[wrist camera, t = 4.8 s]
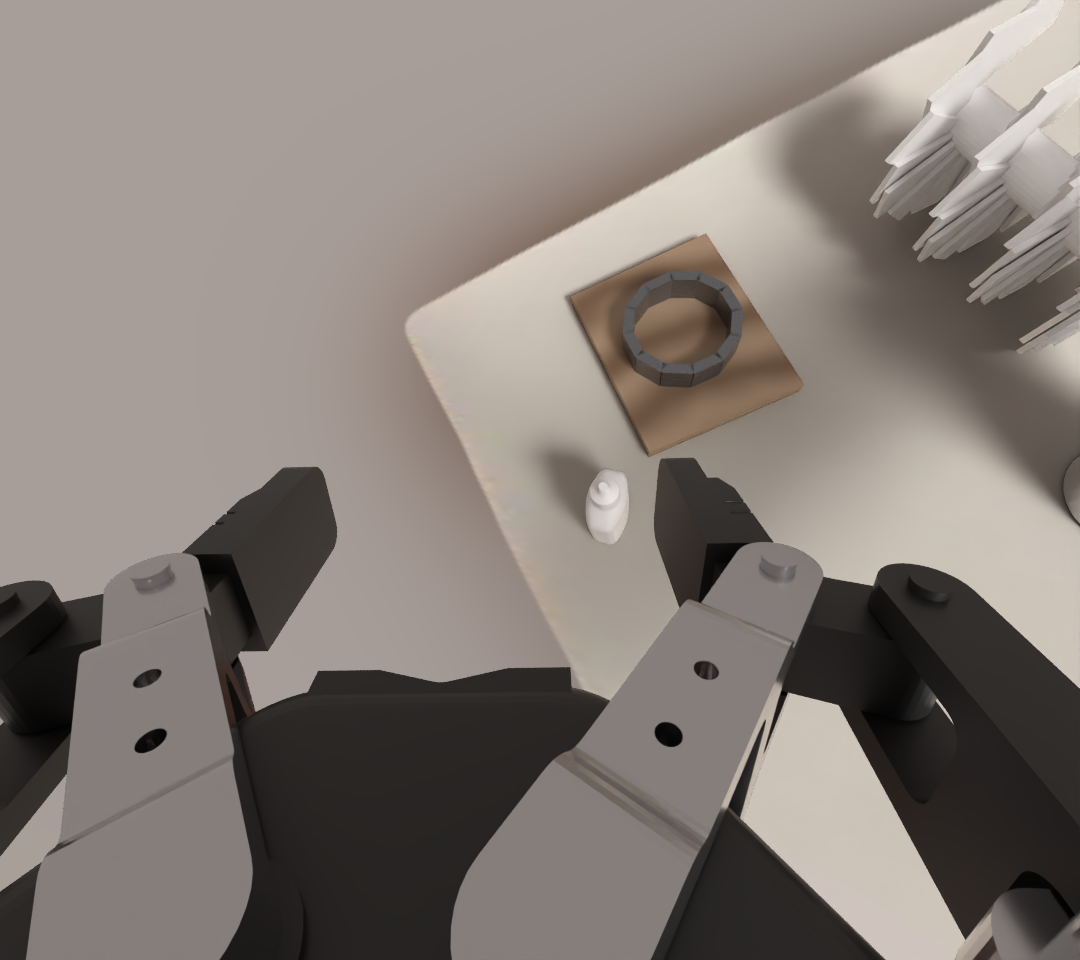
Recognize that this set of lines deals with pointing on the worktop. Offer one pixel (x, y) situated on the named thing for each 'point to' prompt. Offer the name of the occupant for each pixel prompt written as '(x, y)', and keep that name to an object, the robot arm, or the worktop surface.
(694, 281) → the ring collar
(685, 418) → the walnut board
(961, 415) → the worktop surface
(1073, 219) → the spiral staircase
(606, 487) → the eye dropper bottle
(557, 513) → the worktop surface
